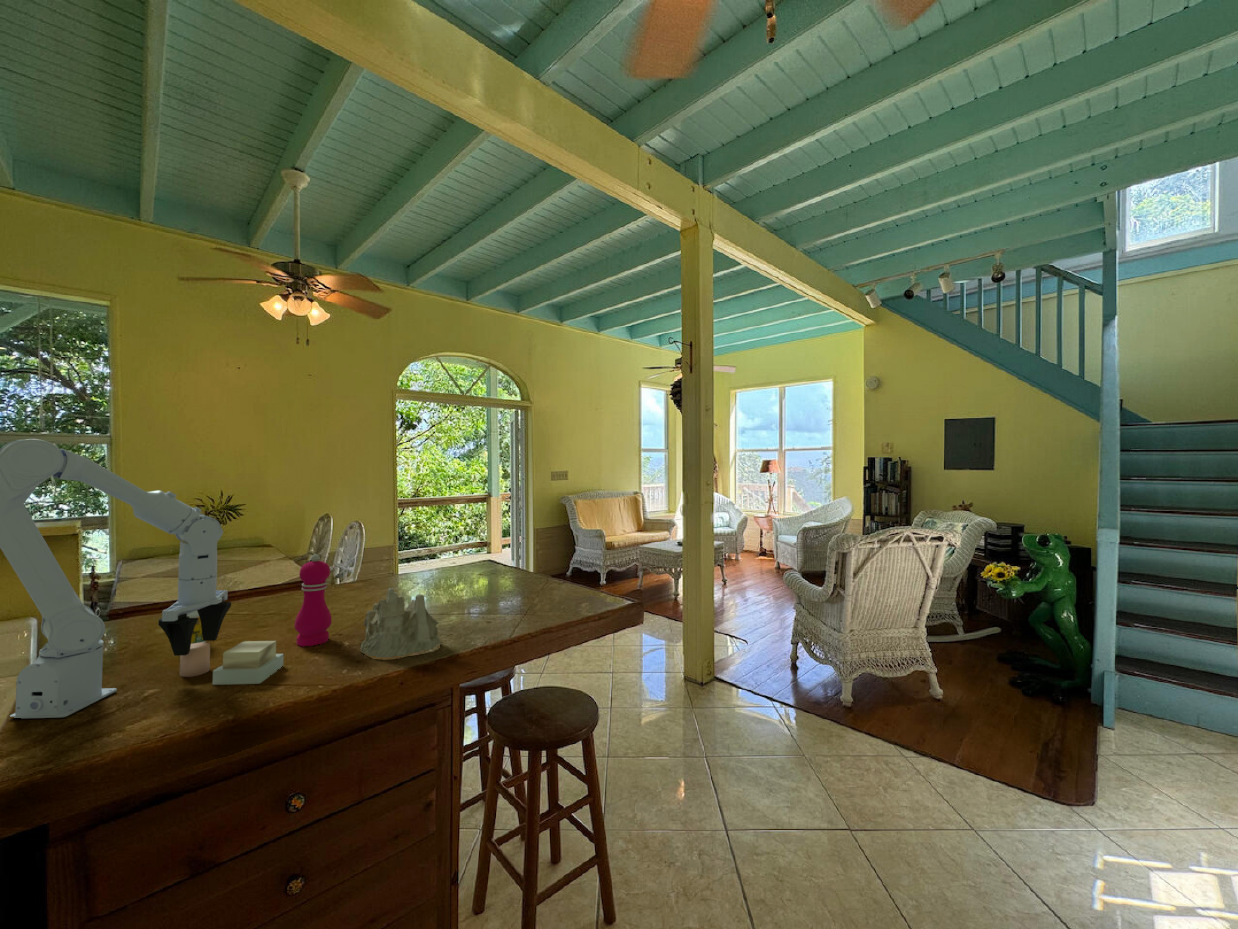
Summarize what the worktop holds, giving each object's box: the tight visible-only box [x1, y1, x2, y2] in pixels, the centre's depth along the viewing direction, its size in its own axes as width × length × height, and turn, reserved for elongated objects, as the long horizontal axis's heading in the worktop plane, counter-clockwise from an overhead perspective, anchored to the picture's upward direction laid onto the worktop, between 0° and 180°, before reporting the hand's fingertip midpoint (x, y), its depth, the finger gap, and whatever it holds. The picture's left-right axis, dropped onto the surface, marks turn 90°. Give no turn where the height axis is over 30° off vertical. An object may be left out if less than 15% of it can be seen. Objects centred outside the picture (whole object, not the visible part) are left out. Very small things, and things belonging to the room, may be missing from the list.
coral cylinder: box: [179, 641, 211, 678], centre depth 96 cm, size 4×4×5 cm
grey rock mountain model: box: [360, 587, 441, 657], centre depth 113 cm, size 16×16×15 cm
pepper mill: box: [294, 554, 332, 647], centre depth 114 cm, size 7×7×20 cm
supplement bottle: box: [187, 610, 207, 644], centre depth 110 cm, size 5×5×10 cm
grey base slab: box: [212, 653, 285, 686], centre depth 96 cm, size 8×8×3 cm
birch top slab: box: [222, 640, 277, 669], centre depth 96 cm, size 6×6×3 cm
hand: (196, 647), depth 97 cm, fingers open, 7 cm apart
